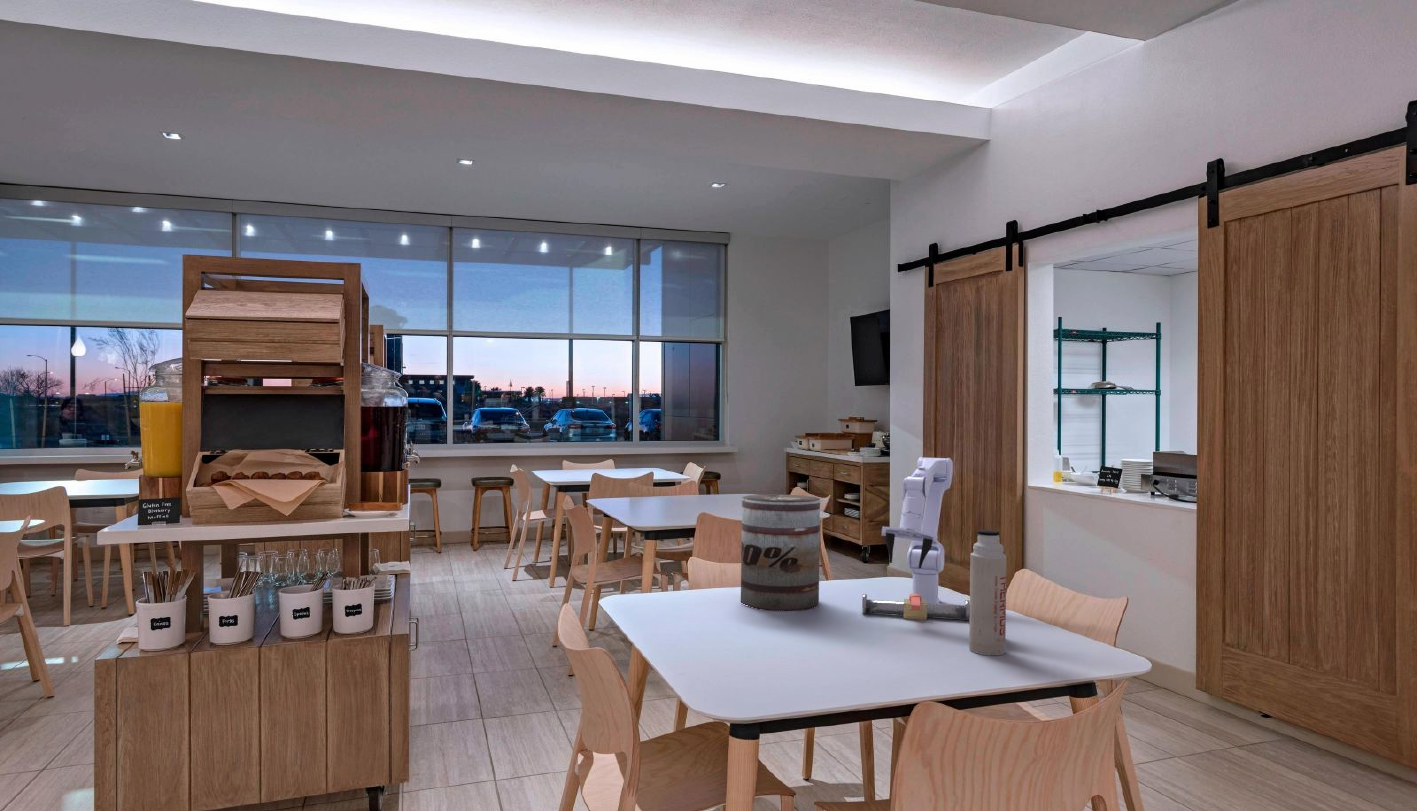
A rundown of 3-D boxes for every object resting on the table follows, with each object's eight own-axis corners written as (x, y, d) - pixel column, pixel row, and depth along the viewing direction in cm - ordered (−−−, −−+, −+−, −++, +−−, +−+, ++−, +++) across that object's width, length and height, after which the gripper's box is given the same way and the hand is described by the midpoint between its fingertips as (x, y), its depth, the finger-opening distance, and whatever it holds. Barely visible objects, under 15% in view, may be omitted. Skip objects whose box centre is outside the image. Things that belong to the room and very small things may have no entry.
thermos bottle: (1012, 653, 198) (1014, 531, 198) (987, 657, 195) (988, 533, 195) (987, 644, 205) (988, 527, 206) (961, 648, 202) (963, 529, 202)
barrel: (724, 599, 250) (726, 496, 251) (782, 590, 264) (783, 493, 264) (776, 615, 232) (777, 504, 233) (835, 604, 246) (836, 499, 246)
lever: (909, 598, 235) (909, 593, 235) (921, 599, 234) (921, 594, 234) (909, 609, 222) (909, 604, 222) (922, 610, 221) (922, 605, 221)
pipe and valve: (863, 610, 239) (863, 591, 239) (968, 617, 233) (968, 598, 233) (862, 615, 233) (862, 596, 233) (969, 622, 227) (970, 602, 227)
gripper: (885, 506, 232) (877, 554, 226) (940, 515, 228) (934, 563, 222) (884, 517, 238) (877, 563, 232) (938, 525, 234) (932, 572, 228)
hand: (905, 564), depth 227 cm, fingers open, 7 cm apart
